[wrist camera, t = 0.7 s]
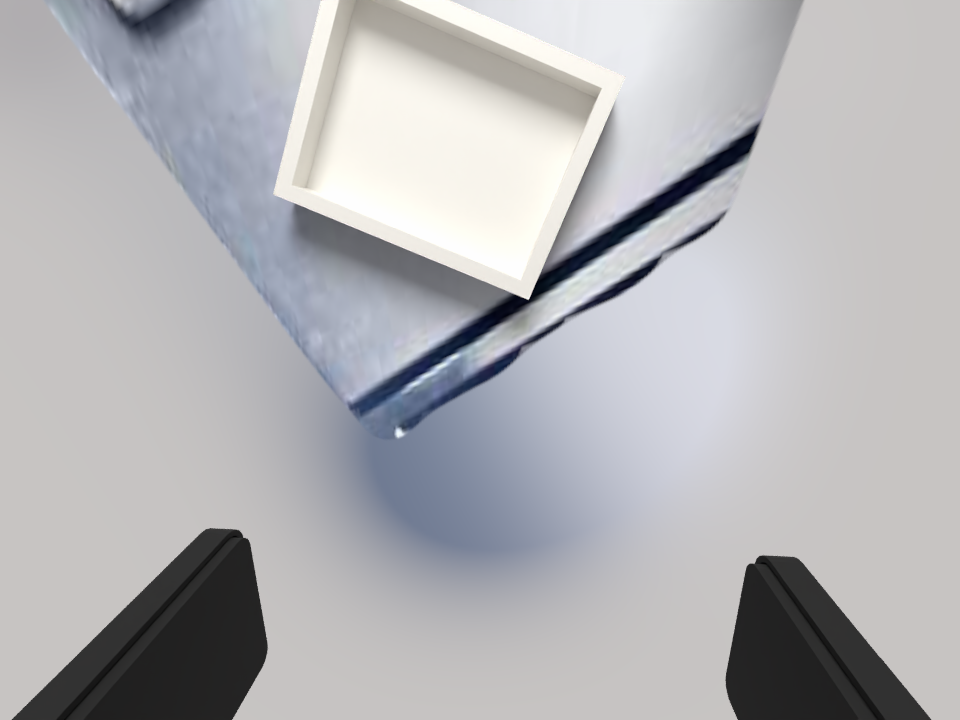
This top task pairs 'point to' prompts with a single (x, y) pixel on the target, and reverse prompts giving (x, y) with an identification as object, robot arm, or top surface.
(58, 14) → the top surface
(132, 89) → the top surface
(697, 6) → the top surface
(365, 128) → the tray
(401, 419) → the top surface
